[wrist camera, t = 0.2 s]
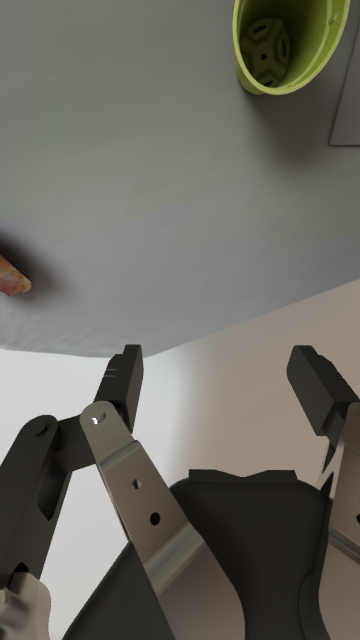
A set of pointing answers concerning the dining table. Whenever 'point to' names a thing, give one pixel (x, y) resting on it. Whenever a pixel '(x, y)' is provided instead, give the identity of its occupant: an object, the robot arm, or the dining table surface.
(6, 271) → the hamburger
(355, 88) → the mat
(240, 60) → the plant pot
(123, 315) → the dining table surface
